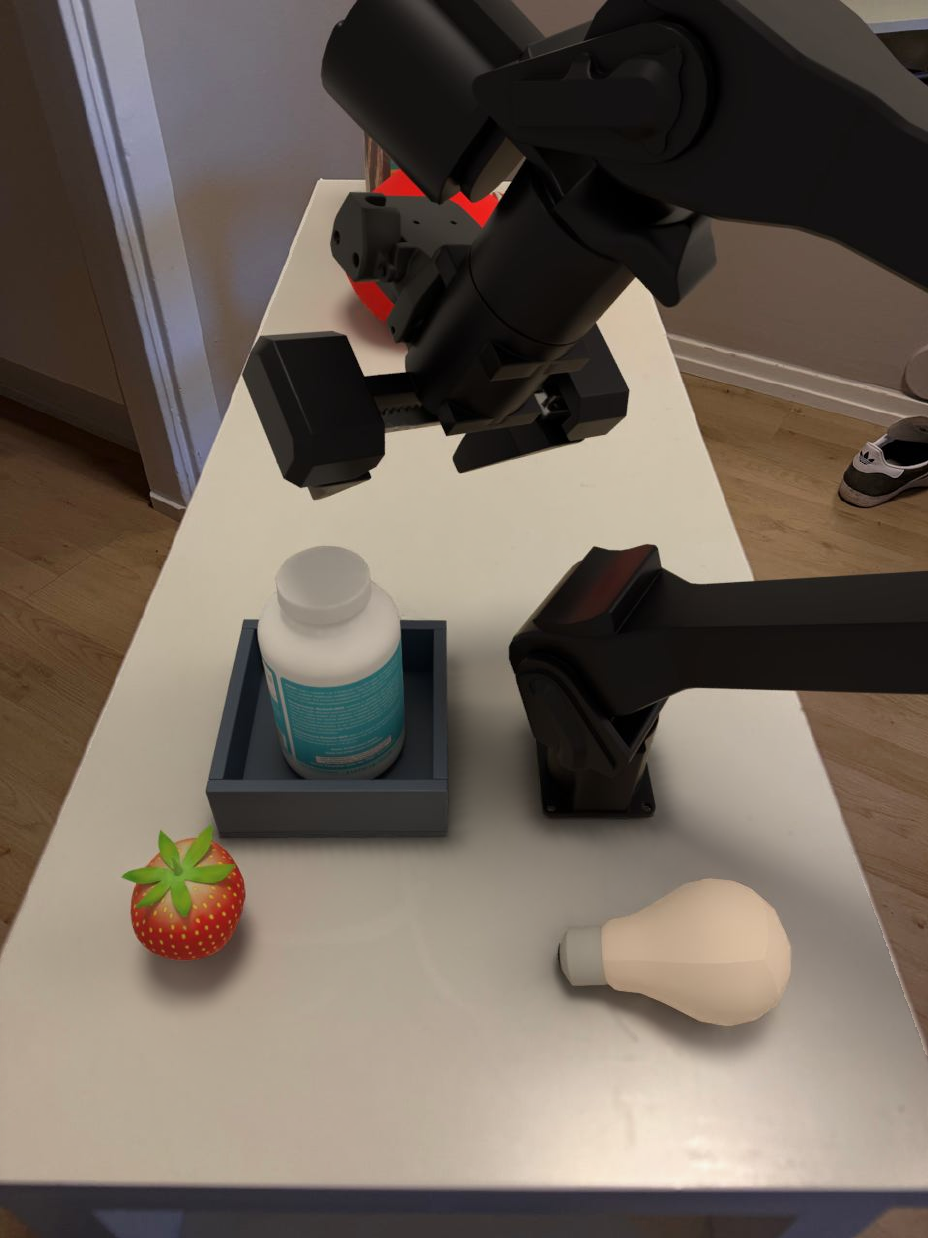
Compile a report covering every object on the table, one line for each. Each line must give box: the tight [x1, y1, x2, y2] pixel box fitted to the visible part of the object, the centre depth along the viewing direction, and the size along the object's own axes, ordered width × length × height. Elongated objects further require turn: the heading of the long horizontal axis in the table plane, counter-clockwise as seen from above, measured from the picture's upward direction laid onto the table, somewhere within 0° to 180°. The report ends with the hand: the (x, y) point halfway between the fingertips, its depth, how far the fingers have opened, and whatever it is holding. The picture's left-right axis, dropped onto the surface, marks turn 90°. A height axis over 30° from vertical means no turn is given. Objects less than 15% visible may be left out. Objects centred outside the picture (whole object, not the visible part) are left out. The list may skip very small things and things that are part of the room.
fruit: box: [120, 823, 246, 961], centre depth 41 cm, size 5×5×8 cm
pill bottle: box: [258, 545, 405, 780], centre depth 48 cm, size 8×7×14 cm
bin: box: [205, 618, 449, 838], centre depth 51 cm, size 13×13×4 cm
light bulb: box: [556, 877, 792, 1027], centre depth 42 cm, size 7×7×11 cm
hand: (388, 477), depth 47 cm, fingers open, 9 cm apart
